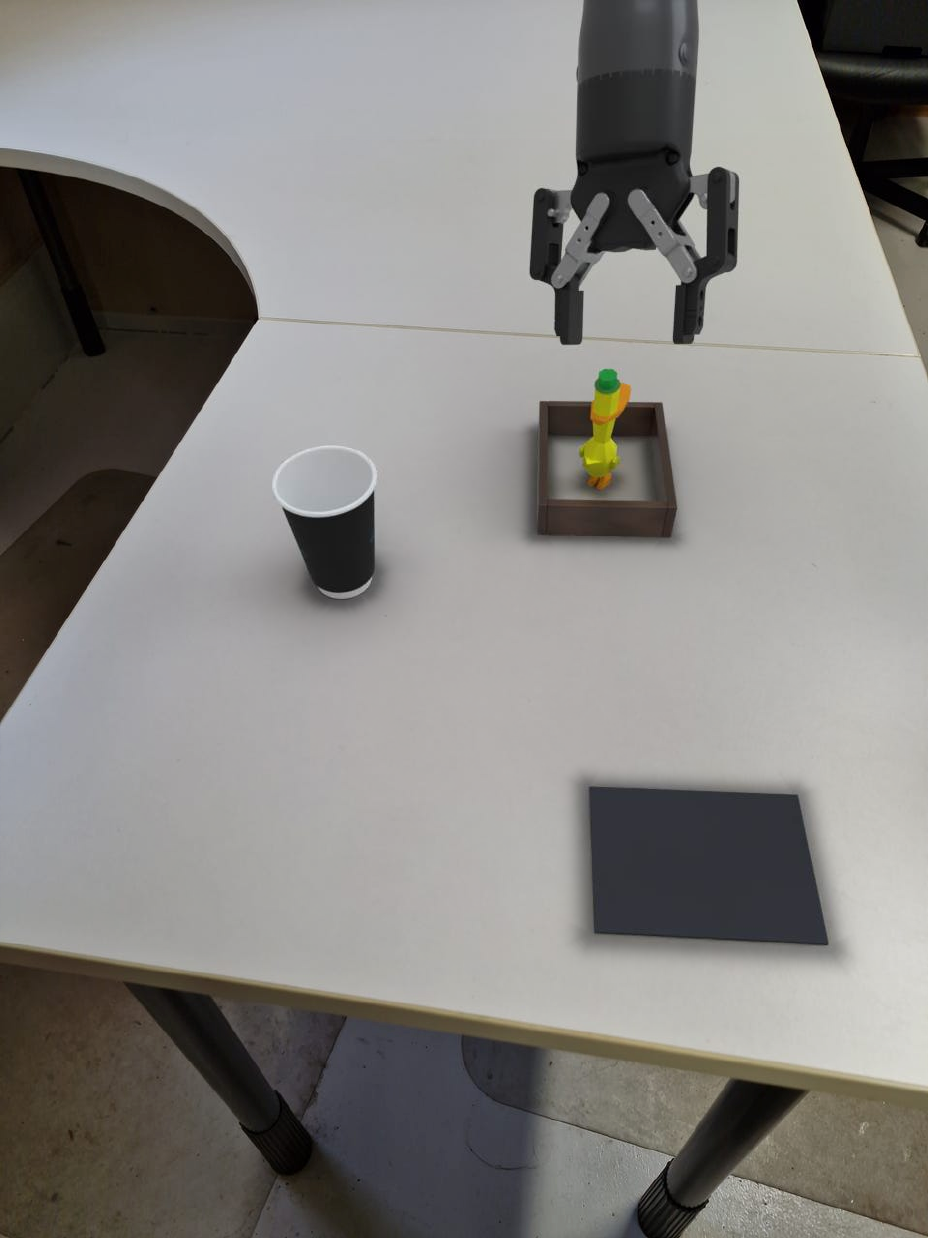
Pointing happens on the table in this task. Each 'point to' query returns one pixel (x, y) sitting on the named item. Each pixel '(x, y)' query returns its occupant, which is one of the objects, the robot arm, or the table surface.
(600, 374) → the toy figure
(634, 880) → the rubber pad
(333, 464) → the dixie cup
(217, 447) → the table surface
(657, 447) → the tray box
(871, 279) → the table surface
